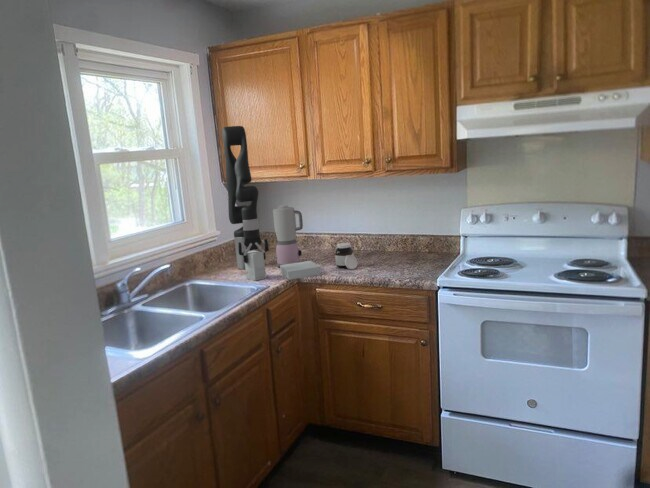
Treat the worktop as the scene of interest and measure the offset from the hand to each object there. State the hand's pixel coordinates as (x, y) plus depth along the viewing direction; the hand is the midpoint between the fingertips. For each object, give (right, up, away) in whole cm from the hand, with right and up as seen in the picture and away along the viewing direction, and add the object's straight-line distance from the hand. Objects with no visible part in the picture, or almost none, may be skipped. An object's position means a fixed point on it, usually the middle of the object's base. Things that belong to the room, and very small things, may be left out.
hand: (254, 261), depth 235 cm
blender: (+16, -3, +22) cm, 28 cm away
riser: (+22, -6, +3) cm, 23 cm away
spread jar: (+45, -3, +9) cm, 46 cm away
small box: (0, -8, +2) cm, 9 cm away
